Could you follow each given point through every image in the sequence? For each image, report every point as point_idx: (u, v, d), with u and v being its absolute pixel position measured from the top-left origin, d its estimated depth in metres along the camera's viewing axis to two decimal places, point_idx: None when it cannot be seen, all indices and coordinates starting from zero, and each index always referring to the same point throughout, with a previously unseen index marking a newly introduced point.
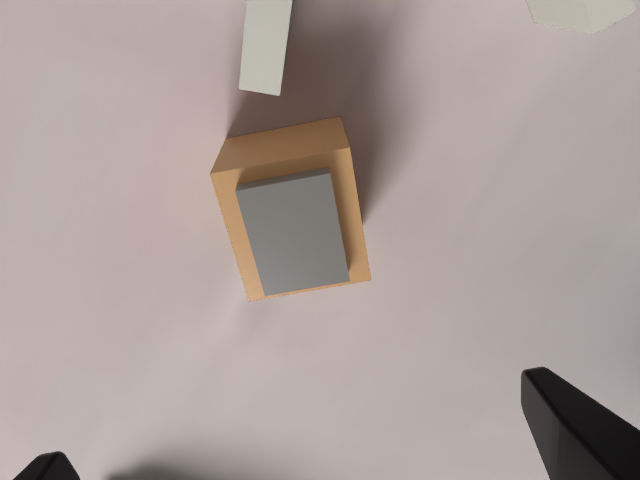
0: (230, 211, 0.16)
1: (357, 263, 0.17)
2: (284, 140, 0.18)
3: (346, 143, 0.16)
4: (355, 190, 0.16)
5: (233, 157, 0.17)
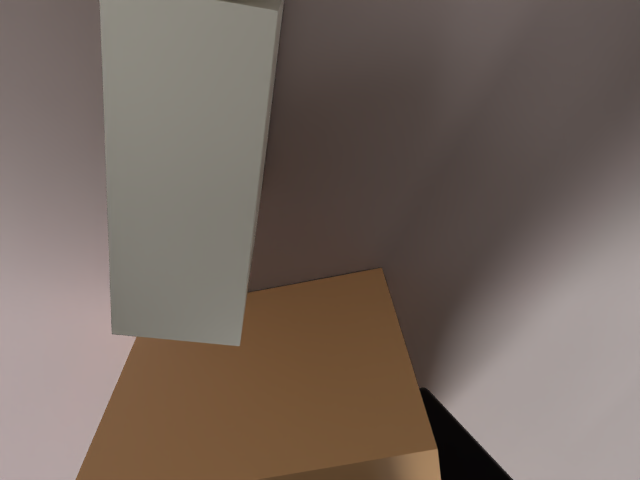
0: None
1: None
2: (263, 354, 0.08)
3: (422, 419, 0.06)
4: None
5: (140, 421, 0.07)
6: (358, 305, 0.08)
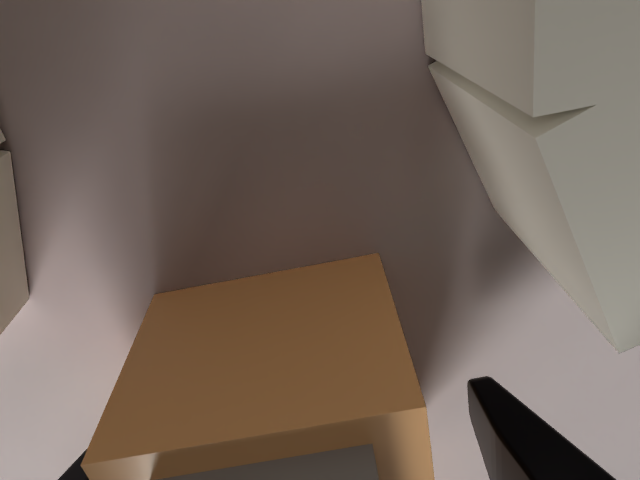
0: None
1: None
2: (266, 328, 0.08)
3: (413, 382, 0.07)
4: None
5: (150, 387, 0.07)
6: (355, 284, 0.09)
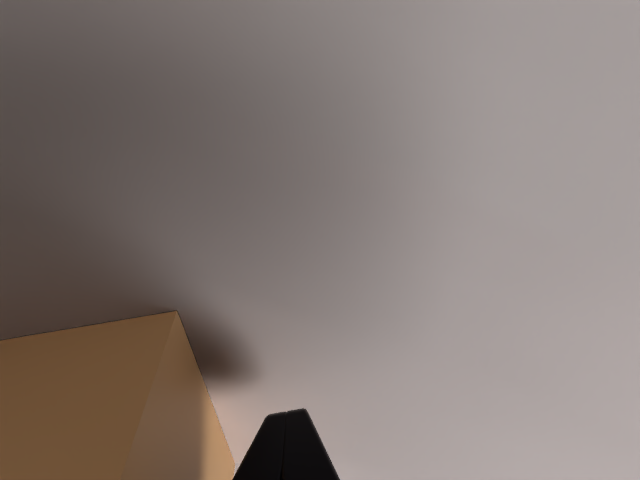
0: None
1: None
2: None
3: None
4: None
5: None
6: None
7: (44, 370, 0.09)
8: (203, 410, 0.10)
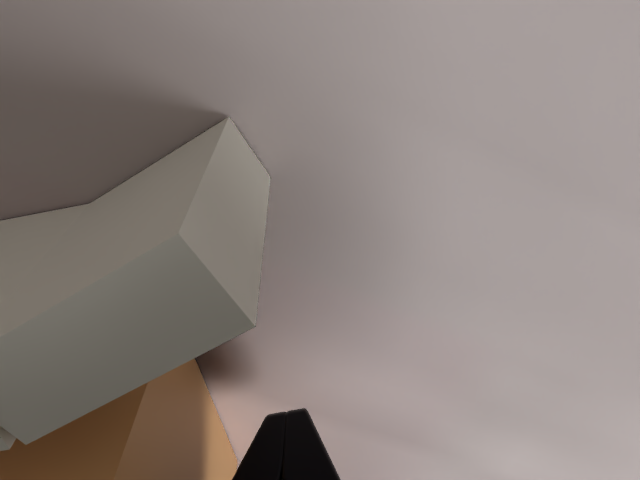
0: None
1: None
2: None
3: None
4: None
5: None
6: None
7: None
8: (203, 408, 0.10)
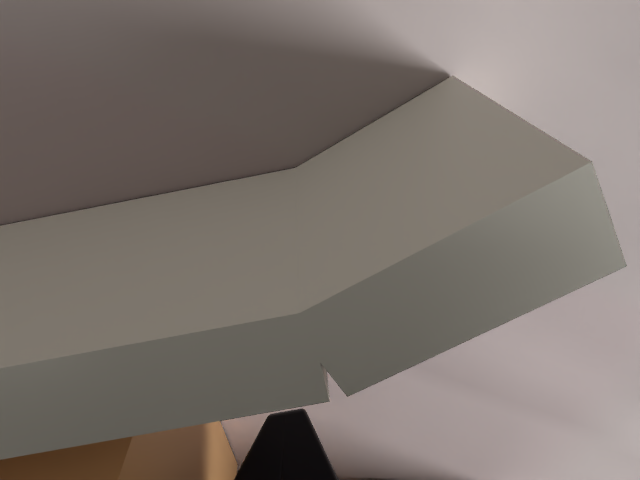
0: None
1: None
2: None
3: None
4: None
5: None
6: None
7: None
8: None
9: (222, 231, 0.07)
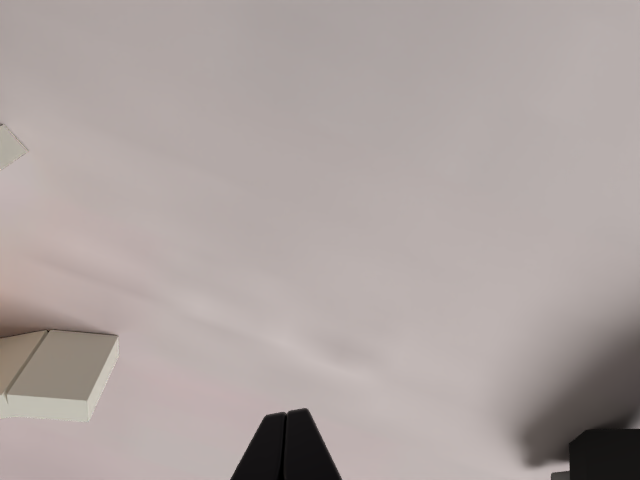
0: None
1: None
2: None
3: None
4: None
5: None
6: None
7: None
8: None
9: None
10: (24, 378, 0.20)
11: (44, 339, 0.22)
